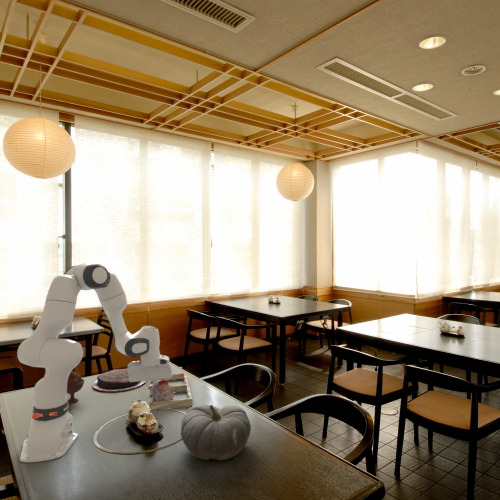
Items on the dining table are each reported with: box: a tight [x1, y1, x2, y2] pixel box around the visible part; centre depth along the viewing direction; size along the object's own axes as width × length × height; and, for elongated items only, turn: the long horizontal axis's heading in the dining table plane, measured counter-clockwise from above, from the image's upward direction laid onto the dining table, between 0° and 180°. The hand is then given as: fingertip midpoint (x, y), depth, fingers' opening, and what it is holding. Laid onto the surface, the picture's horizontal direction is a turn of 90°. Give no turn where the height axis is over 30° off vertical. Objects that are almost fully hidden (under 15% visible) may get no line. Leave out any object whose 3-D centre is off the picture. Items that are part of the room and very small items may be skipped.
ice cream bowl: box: [67, 370, 85, 405], centre depth 187 cm, size 11×11×15 cm
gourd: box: [180, 403, 252, 461], centre depth 141 cm, size 25×25×17 cm
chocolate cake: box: [92, 368, 146, 393], centre depth 212 cm, size 28×28×7 cm
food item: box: [151, 380, 175, 402], centre depth 186 cm, size 14×8×10 cm, turn 34°
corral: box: [148, 371, 193, 411], centre depth 197 cm, size 40×19×4 cm, turn 14°
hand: (150, 389), depth 185 cm, fingers closed
